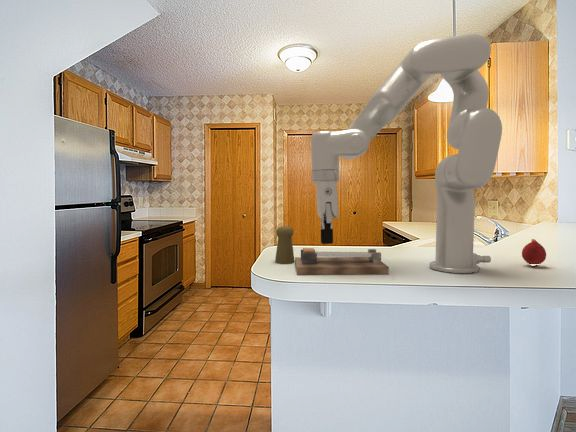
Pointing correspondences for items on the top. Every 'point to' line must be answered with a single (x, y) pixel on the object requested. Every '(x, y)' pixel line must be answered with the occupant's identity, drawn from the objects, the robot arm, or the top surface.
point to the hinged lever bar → (338, 253)
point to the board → (340, 265)
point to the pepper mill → (284, 246)
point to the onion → (534, 253)
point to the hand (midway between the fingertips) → (326, 243)
